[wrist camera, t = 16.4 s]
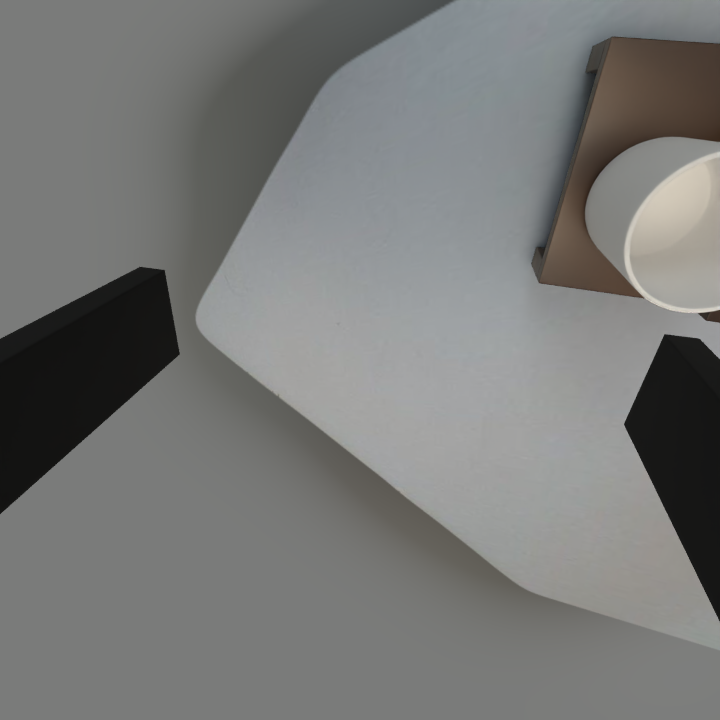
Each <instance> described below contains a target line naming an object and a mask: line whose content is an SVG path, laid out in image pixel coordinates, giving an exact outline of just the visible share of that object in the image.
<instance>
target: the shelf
mask: <svg viewBox="0 0 720 720" xmlns="http://www.w3.org/2000/svg"><path fill="white" fill-rule="evenodd" d="M586 73H596V74H597V75H596V78H595V81H594V85H593V88H592V92H591V95H590V98H589V102H588V105H587V109H586V112H585V115H584V119H583V122H582V126H581V129H580V133H579V136H578V139H577V143H576V146H575V150H574V153H573V156H572V160H571V163H570V167H569V170H568V173H567V177H566V180H565V184H564V187H563V191H562V194H561V197H560V201H559V204H558V208H557V211H556V214H555V218H554V221H553V225H552V228H551V231H550V235H549V238H548V242H547V245H546V248H540V247H536V249H535V253H534V256H533V260H532V263H531V264H532V267H533V269H534V272H535V274H536V277H537V280H538V282H539V283H542V284H549V285H556V286H562V287H569V288H576V289H583V290H590V291H597V292H604V293H611V294H618V295H625V296H632V297H639V298H644V297H643V296H642V295H641V294H640V293H639V292H638V291H637V290H636V289H635V288H634V287H633V286H632V285H631V284H630V283H629V282H628V280H627V279H626V278H625V277H624V276H623V275H622V274H621V273H620V272H619V271H618V270H617V269H616V268H615V266H614V265H613V264H612V263H611V262H610V261H609V260H608V259H607V258H606V257H605V256H604V255H603V254H602V252H601V251H600V250H599V249H598V248H597V247H596V245H595V244H594V243H593V241H592V239H591V237H590V235H589V233H588V230H587V226H586V221H585V207H586V202H587V198H588V195H589V192H590V190H591V188H592V185H593V183H594V182H595V180H596V178H597V177H598V176H599V174H600V173H601V172H602V170H603V169H604V168H605V167H606V166H607V165H608V164H609V163H610V162H611V161H612V160H613V159H614V158H615V157H617V156H618V155H619V154H621V153H622V152H624V151H625V150H627V149H629V148H631V147H633V146H635V145H637V144H639V143H642V142H645V141H648V140H652V139H656V138H662V137H685V138H692V139H700V140H707V141H715V142H720V44H715V43H700V42H685V41H670V40H656V39H641V38H626V37H611V38H609V39H607V40H605V41H603V42H601V43H599V44H596V45H594V46H593V47H592V50H591V54H590V58H589V61H588V65H587V68H586ZM698 314H699V315H700V316H701V317H703V318H704V319H705V320H706V321H712V322H719V323H720V310H717V311H711V312H704V313H698Z"/></svg>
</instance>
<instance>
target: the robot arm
mask: <svg viewBox="0 0 720 720" xmlns="http://www.w3.org/2000/svg"><path fill="white" fill-rule="evenodd" d="M179 354H180V353H179V348H178V342H177V336H176V331H175V326H174V320H173V315H172V309H171V303H170V298H169V292H168V286H167V281H166V275H165V270H159V269H152V268H144V267H139V268H137V269H135V270H133V271H131V272H129V273H127V274H125V275H123V276H121V277H120V278H118V279H116V280H114V281H112V282H110V283H108V284H106V285H104V286H102V287H100V288H98V289H96V290H95V291H93V292H90V293H89V294H87V295H85V296H83V297H81V298H79V299H77V300H75V301H73V302H71V303H69V304H67V305H65V306H63V307H61V308H59V309H57V310H55V311H53V312H52V313H50V314H48V315H46V316H44V317H42V318H40V319H38V320H36V321H34V322H32V323H30V324H28V325H26V326H24V327H23V328H20V329H18V330H16V331H15V332H13V333H11V334H9V335H7V336H5V337H3V338H1V339H0V514H1V513H2V512H3V511H4V510H5V509H6V508H8V507H9V506H10V505H11V504H12V503H13V502H14V501H15V500H17V499H18V497H20V496H21V495H22V494H23V493H24V492H25V491H27V490H28V489H29V488H30V487H31V486H32V485H33V484H34V483H36V482H37V481H38V480H39V479H40V478H41V477H42V476H43V475H45V474H46V473H47V472H48V471H49V470H50V469H51V468H52V467H54V466H55V465H56V464H57V463H58V462H59V461H60V460H61V459H63V458H64V457H65V456H66V455H67V454H68V453H69V452H70V451H71V450H72V449H74V448H75V447H76V446H77V445H78V444H79V443H81V442H82V440H84V439H85V438H86V437H87V436H88V435H89V434H91V433H92V432H93V431H94V430H95V429H96V428H97V427H99V426H100V425H101V424H102V423H103V422H104V421H105V420H106V419H108V418H109V417H110V416H111V415H112V414H113V413H114V412H115V411H116V410H118V409H119V408H120V407H121V406H122V405H123V404H124V403H125V402H127V401H128V400H129V399H130V398H131V397H132V396H133V395H134V394H136V393H137V392H138V391H139V390H140V389H141V388H142V387H143V386H145V385H146V384H147V383H148V382H149V381H150V380H151V379H152V378H154V377H155V376H156V375H157V374H158V373H159V372H160V371H161V370H162V369H164V368H165V367H166V366H167V365H168V364H169V363H170V362H172V361H173V360H174V359H175V358H176V357H177V356H178V355H179ZM624 425H625V428H626V430H627V432H628V434H629V436H630V438H631V440H632V442H633V444H634V446H635V448H636V450H637V452H638V454H639V456H640V458H641V460H642V462H643V465H644V467H645V469H646V471H647V473H648V475H649V477H650V479H651V481H652V483H653V485H654V487H655V489H656V491H657V493H658V495H659V497H660V500H661V502H662V504H663V506H664V508H665V510H666V512H667V514H668V516H669V518H670V520H671V522H672V524H673V526H674V528H675V530H676V532H677V535H678V537H679V539H680V541H681V543H682V545H683V547H684V549H685V551H686V553H687V555H688V557H689V559H690V561H691V563H692V565H693V567H694V569H695V572H696V574H697V576H698V578H699V580H700V582H701V584H702V586H703V588H704V590H705V592H706V594H707V596H708V598H709V600H710V602H711V604H712V607H713V609H714V611H715V613H716V615H717V617H718V619H719V621H720V359H719V358H718V357H717V356H716V355H715V354H714V353H713V352H712V351H711V350H710V349H709V348H708V347H707V346H706V345H705V344H704V343H703V342H702V341H701V340H700V339H698V338H690V337H682V336H674V335H666V334H665V335H664V337H663V339H662V341H661V343H660V346H659V348H658V350H657V352H656V355H655V357H654V359H653V361H652V363H651V366H650V368H649V370H648V372H647V374H646V377H645V379H644V381H643V383H642V386H641V388H640V390H639V392H638V394H637V397H636V399H635V401H634V403H633V405H632V408H631V410H630V412H629V414H628V416H627V419H626V421H625V423H624Z"/></svg>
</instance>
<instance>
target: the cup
mask: <svg viewBox="0 0 720 720" xmlns="http://www.w3.org/2000/svg"><path fill="white" fill-rule="evenodd" d="M585 221H586V226H587V230H588V233H589V235H590V237H591V239H592V241H593V243H594V244H595V245H596V247H597V248H598V249H599V250H600V251H601V252H602V254H603V255H604V256H605V257H606V258H607V259H608V260H609V261H610V262H611V263H612V264H613V265H614V266H615V268H616V269H617V270H618V271H619V272H620V273H621V274H622V275H623V276H624V277H625V278H626V279H627V280H628V282H629V283H630V284H631V285H632V286H633V287H634V288H635V289H636V290H637V291H638V292H639V293H640V294H641V295H642V296H643V297H644V298H645V299H647V300H648V301H650V302H651V303H653V304H655V305H657V306H659V307H662V308H665V309H668V310H672V311H677V312H684V313H704V312H711V311H717V310H720V142H715V141H707V140H700V139H692V138H685V137H662V138H656V139H652V140H648V141H645V142H642V143H639V144H637V145H635V146H633V147H631V148H629V149H627V150H625V151H624V152H622V153H621V154H619V155H618V156H617V157H615V158H614V159H613V160H612V161H611V162H610V163H609V164H608V165H607V166H606V167H605V168H604V169H603V170H602V172H601V173H600V174H599V176H598V177H597V178H596V180H595V182H594V183H593V185H592V188H591V190H590V192H589V195H588V198H587V202H586V207H585Z"/></svg>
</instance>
